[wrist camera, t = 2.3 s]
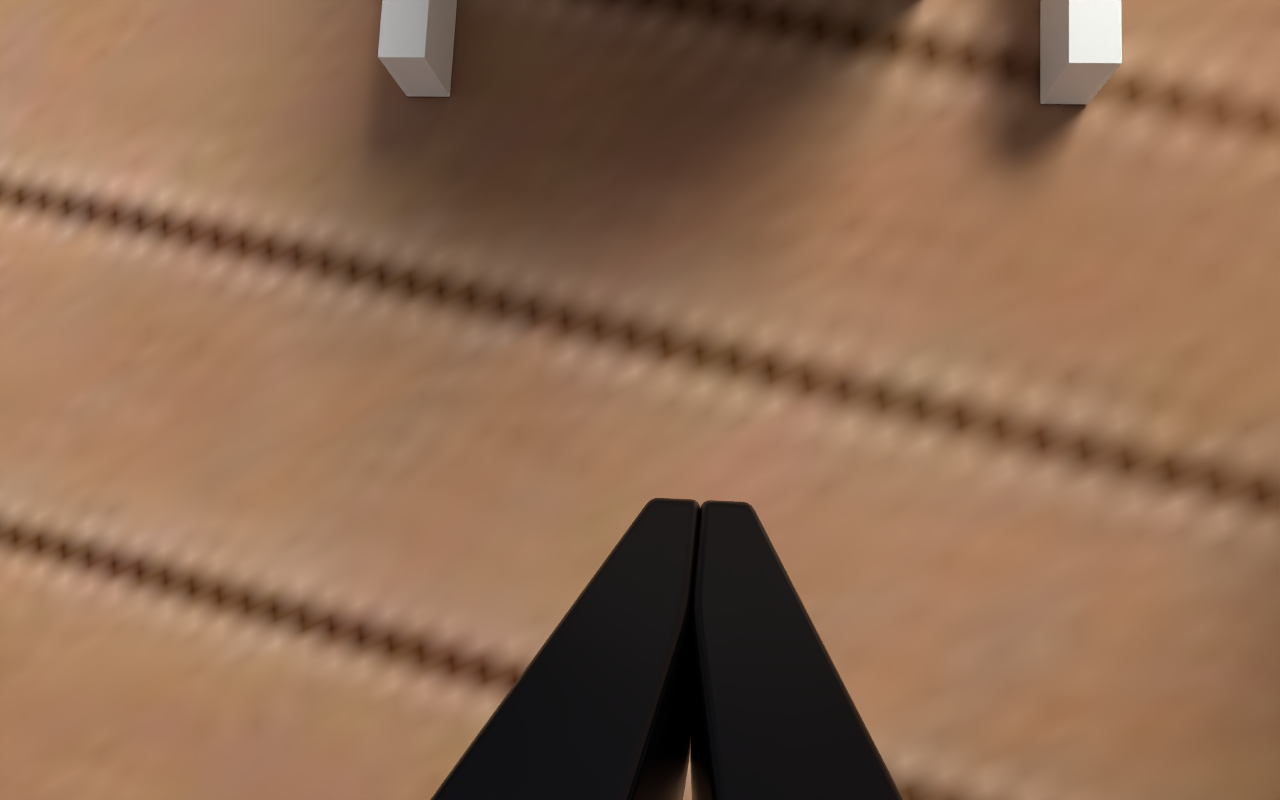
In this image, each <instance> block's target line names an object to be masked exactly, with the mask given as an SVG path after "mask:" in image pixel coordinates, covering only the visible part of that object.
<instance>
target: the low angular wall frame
mask: <svg viewBox="0 0 1280 800" xmlns="http://www.w3.org/2000/svg"><path fill="white" fill-rule="evenodd" d="M456 9H457V0H383V1H382V13H381V25H380V37H379V49H378V58H379V59H380V61H381V62H382V63H383V65H384V66H385V67H386V69H387V70H388V71H389V73H390V74H391V76H392V77H393V78H394V80H395V81H396V82H397V84H398V85H399V86H400V88H401V89H402V90H403V92H404V93H405V94H406V96H423V97H450V88H451V75H452V62H453V49H454V35H455V22H456ZM1121 64H1122V28H1121V0H1040V104H1089V103H1090V102H1091V100H1092V99H1093V98H1094V97H1095V95H1096V94H1097V93H1098V92H1099V90H1100V89H1101V88H1102V87H1103V86H1104V84H1105V83H1106V82H1107V81H1108V79H1109V78H1110V77H1111V76H1112V75H1113V73H1114V72H1115V71H1116V70H1117V68H1118V67H1119V66H1120V65H1121Z"/></svg>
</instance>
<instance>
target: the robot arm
mask: <svg viewBox="0 0 1280 800" xmlns="http://www.w3.org/2000/svg"><path fill="white" fill-rule="evenodd" d="M690 742H691V786H692V800H903V798H902V796H901V794H900V792H899V790H898V788H897V787H896V785H895V783H894V781H893V779H892V777H891V775H890V773H889V771H888V769H887V767H886V765H885V763H884V761H883V759H882V757H881V755H880V753H879V751H878V749H877V748H876V746H875V744H874V742H873V740H872V738H871V736H870V734H869V732H868V730H867V728H866V726H865V724H864V722H863V720H862V718H861V716H860V714H859V712H858V711H857V709H856V707H855V705H854V703H853V701H852V699H851V697H850V695H849V693H848V691H847V689H846V687H845V685H844V683H843V681H842V679H841V677H840V675H839V673H838V672H837V670H836V668H835V666H834V664H833V662H832V660H831V658H830V656H829V654H828V652H827V650H826V648H825V646H824V644H823V642H822V640H821V638H820V636H819V634H818V633H817V631H816V629H815V627H814V625H813V623H812V621H811V619H810V617H809V615H808V613H807V611H806V609H805V607H804V605H803V603H802V601H801V599H800V597H799V595H798V594H797V592H796V590H795V588H794V586H793V584H792V582H791V580H790V578H789V576H788V574H787V572H786V570H785V568H784V566H783V564H782V562H781V560H780V558H779V557H778V555H777V553H776V551H775V549H774V547H773V545H772V543H771V541H770V539H769V537H768V535H767V533H766V531H765V529H764V527H763V525H762V523H761V521H760V519H759V518H758V516H757V514H756V512H755V510H754V509H753V507H752V506H751V505H750V504H748V503H746V502H732V501H712V500H709V501H706V502H704V503H703V504H702V505H701V508H700V506H699V504H698V502H696V501H695V500H691V499H669V498H655V499H652V500H650V501H649V502H648V503H647V504H646V505H645V507H644V508H643V509H642V511H641V512H640V514H639V515H638V516H637V518H636V519H635V520H634V522H633V523H632V524H631V526H630V527H629V529H628V530H627V531H626V533H625V534H624V535H623V537H622V538H621V540H620V541H619V542H618V544H617V545H616V546H615V548H614V549H613V550H612V552H611V553H610V555H609V556H608V557H607V559H606V560H605V561H604V563H603V564H602V566H601V567H600V568H599V570H598V571H597V572H596V574H595V575H594V576H593V578H592V579H591V581H590V582H589V583H588V585H587V586H586V587H585V589H584V590H583V592H582V593H581V594H580V596H579V597H578V598H577V600H576V601H575V602H574V604H573V605H572V607H571V608H570V609H569V611H568V612H567V613H566V615H565V616H564V618H563V619H562V620H561V622H560V623H559V624H558V626H557V627H556V628H555V630H554V631H553V633H552V634H551V635H550V637H549V638H548V639H547V641H546V642H545V644H544V645H543V646H542V648H541V649H540V650H539V652H538V653H537V654H536V656H535V657H534V659H533V660H532V661H531V663H530V664H529V665H528V667H527V668H526V670H525V671H524V672H523V674H522V675H521V676H520V678H519V679H518V680H517V682H516V683H515V685H514V686H513V687H512V689H511V690H510V691H509V693H508V694H507V696H506V697H505V698H504V700H503V701H502V702H501V704H500V705H499V706H498V708H497V709H496V711H495V712H494V713H493V715H492V716H491V717H490V719H489V720H488V722H487V723H486V724H485V726H484V727H483V728H482V730H481V731H480V732H479V734H478V735H477V737H476V738H475V739H474V741H473V742H472V743H471V745H470V746H469V748H468V749H467V750H466V752H465V753H464V754H463V756H462V757H461V758H460V760H459V761H458V763H457V764H456V765H455V767H454V768H453V769H452V771H451V772H450V774H449V775H448V776H447V778H446V779H445V780H444V782H443V783H442V784H441V786H440V787H439V789H438V790H437V791H436V793H435V794H434V795H433V797H432V798H431V800H683V795H684V790H685V783H686V777H687V770H688V763H689V754H690Z"/></svg>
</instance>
